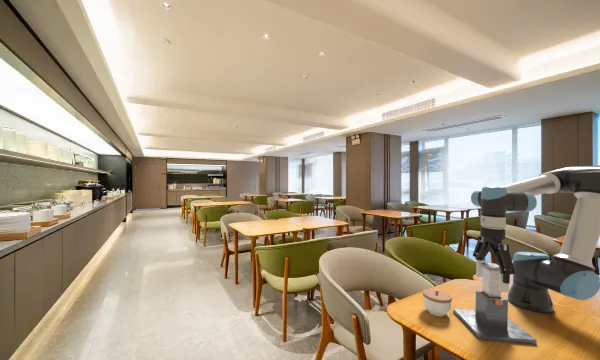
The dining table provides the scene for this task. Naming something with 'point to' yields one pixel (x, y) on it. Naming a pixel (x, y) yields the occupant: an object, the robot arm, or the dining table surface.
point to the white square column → (491, 280)
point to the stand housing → (493, 321)
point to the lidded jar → (437, 302)
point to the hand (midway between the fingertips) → (491, 283)
